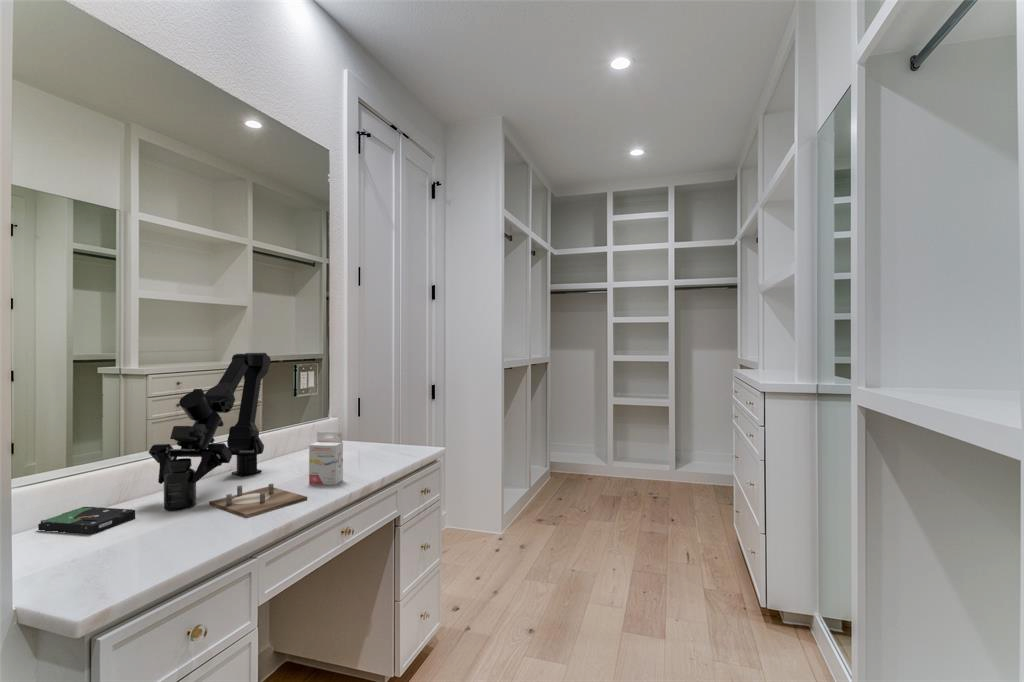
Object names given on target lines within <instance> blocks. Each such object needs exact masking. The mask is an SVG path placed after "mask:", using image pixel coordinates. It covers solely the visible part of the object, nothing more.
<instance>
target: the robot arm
mask: <svg viewBox="0 0 1024 682" xmlns="http://www.w3.org/2000/svg"><path fill="white" fill-rule="evenodd" d="M271 362H272V361H271V357H270V356H269V355H268V354H267V353H266V352H245V353H235V354H233V355H232V357H231V362H230V364H228V366H227V368H226V370H225V371H224V373H223V375H222V376H221V378H220V380H219V381H218V383H217V384H216V385H215V386H214V385H213V386H212V387H211V388H209V389H208V390H207V391H206V392H205V391H204V390H203V389H202V388H193V390H192V391H191V392H188V393H187V394H185V395H183V396H182V397H180V399H179V402H178V404H179V406H180V407H181V409H182V410H183V411H184V413H185V414H186V416H187V418H188V419H189V420H192V421H194V422H193V424H192V426H191V425H173V427H172V431H171V433H170V434H171V435H170V437H169V439H170V440H174V441H177V442H176V445H177V446H178V447H180V448H174V447H173V446H172V445H171V444H170V443H154V444H152V446H151V447H150V449H149V450H148V454H149V455H150V456H151V457H152V458H153V459H154V461H155V462H157V463H158V464H159V471H158V481H157V482H158V483H159V484H160V485H161V484H164V475H165V474H166V473H167V472H169V471H170V469H168V467H169V461H171V460H175V459H178V458H185V457H186V458H201V459H200V462H199V464H198V466H197V468H196V469H195V474H194V476H193V479H192V483H196V484H197V482H199V481H200V480H201V479H202V478H203V477H204V476H206V475H207V474H208V473H210V472H211V471H213V470H215V468H217V467H220V466H222V465H223V464H229V463H230V462H231V460H232V457H233V456H236V470H234V471H232V472H231V474H232V475H235V476H239V477H245V476H249V475H254V474H259V473H262V472H263V471H262V469H258V455H261V454H263V453H264V450H265V449H264V448H265V444H264V443H263V441H262V439H260V437H259V436H260V431H259V429H258V427H257V425H256V416H257V410H258V403H259V398H260V397H259V396H260V391H261V383H262V380H263V379H264V377H265V376H266V375H267V374H268V372H269V368H270V365H271ZM243 378H244V380H243V387H242V393H241V400H240V406H239V413H238V418H237V422H236V424H235V425H232V426H230V427H229V429H228V430H229V431H228V437H227V440H226V441H227V442H226V443H224V442H222V443H220V442H219V443H218V442H216V443H214V442H215V438H214V435H215V434H216V432H217V429H218V427H224V421H223V420H222V416H220V414H224V413H225V414H227V413H229V412H230V411H232V410H233V407H234V403H235V401H236V397H235V392H236V390H237V388H238V386H239V385H240V383H241V381H242V379H243Z"/></svg>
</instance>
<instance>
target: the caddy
mask: <svg viewBox="0 0 1024 682" xmlns="http://www.w3.org/2000/svg"><path fill="white" fill-rule="evenodd" d="M274 485H275V484H274V483H269V484H268V486H265V487H261V488H257V489H253V490H249V491H246V492H243V485H237V486H236V494H234V495H233V494H232V493H229V494H226V495H225V497H222V498H218V499H215V500H210V501H208V505H209V506H212V507H214V508H218V509H220V510H223V511H226V512H228V513H231V514H234V515H237V516H240V517H243V518H246V519H247V518H251V517H255V516H257V515H260V514H261V515H262V514H264V513H267V512H271V511H274V510H278V509H280V508H281V509H282V508H284V507H287V506H291V505H294V504H298V503H300V502H304V501H308V496H306V495H303V494H298V493H295V492H291V491H288V490H284V489H281V488H277V487H275V486H274Z"/></svg>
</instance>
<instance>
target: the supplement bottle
mask: <svg viewBox="0 0 1024 682" xmlns="http://www.w3.org/2000/svg"><path fill="white" fill-rule="evenodd" d="M191 467H192V458H191V457H186V458H185V457H182V458H177V459H175V460H171V461H169V467H168V469H170V471H169V472H167V473H166V474H165V475H164V482H163V509H164V510H165V511H166V512H180V511H185V510H188V509H191V508H193V507H195V506H196V504H197V482H196V483H192V479H193V476H194V474H195V472H196V469H193V468H191Z"/></svg>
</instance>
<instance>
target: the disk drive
mask: <svg viewBox="0 0 1024 682" xmlns="http://www.w3.org/2000/svg"><path fill="white" fill-rule="evenodd" d="M135 519H136V509H132V508H130V509H129V508H116V507H115V508H114V507H110V508H109V507H99V506H98V507H96V506H82V507H79V508H75V509H72V510H70V511H67V512H63V513H61V514H59V515H56V516H54V517H53V516H52V517H50V518H47V519H41V520H40V523H38V524H37V527H38V530H45V531H44V532H46V531H58V532H57V533H61V532H65V533H64V534H75V535H76V534H77V535H90V536H92V535H96V534H99V533H101V532H104V531H107V530H109V529H112V528H115V527H117V526H120V525H122V524H125V523H127V522H130V521H134V520H135Z"/></svg>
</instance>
